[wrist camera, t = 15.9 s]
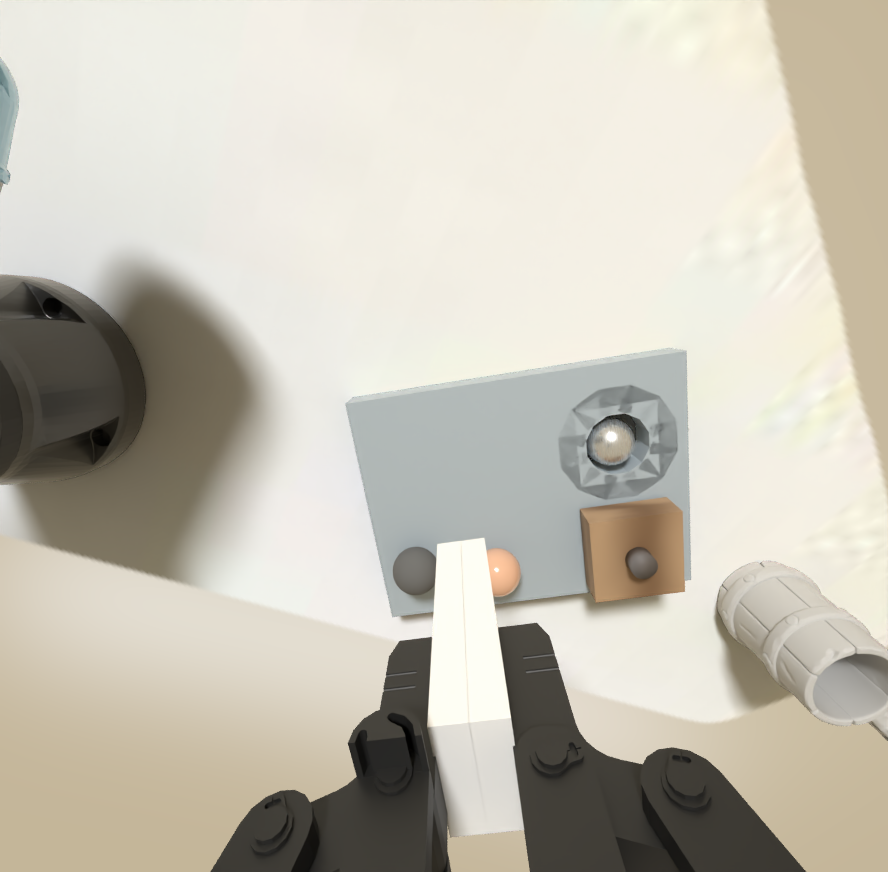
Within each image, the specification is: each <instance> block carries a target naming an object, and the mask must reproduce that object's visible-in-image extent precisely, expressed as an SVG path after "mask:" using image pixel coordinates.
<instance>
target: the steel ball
mask: <svg viewBox="0 0 888 872" xmlns="http://www.w3.org/2000/svg"><path fill="white" fill-rule="evenodd" d="M586 446H587V452H588V454H589V455H590V456H591V458H592V459H594V460H595V461H596V462H598V463H600V464H603V465H617V464H620V463H622V462H624V461H625V460H627V459H628V458H629V457H630V456H631V454H632V452H633V450H634V447H635V437H634V434H633V431H632V430H631V428H630V427H629V426H628V425H627V424H626V423H624V422H623V421H621V420H618V419H613V418H607V419H603V420H601V421H600V422H598V423H597V424H596V425H594V426H593V428H592V430H591V432H590V434H589V436H588V438H587V440H586Z"/></svg>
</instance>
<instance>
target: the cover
mask: <svg viewBox="0 0 888 872" xmlns="http://www.w3.org/2000/svg"><path fill="white" fill-rule="evenodd" d="M580 518H581V529H582V540H583V551H584V563H585V574H586V583H587V585H588V588H589V590H590V592H591V594H592V596H593V598H594V600H595V602H596V603H597V602H605V601H613V600H621V599H629V598H637V597H645V596H653V595H661V594H669V593H678V592H685V579H684V539H683V511H682V510H681V509H680V508H679V507H677V506H676V505H675V504H674V503H673V502H672V501H671V500H669V499H668V498H667V497H662V498H655V499H648V500H640V501H633V502H626V503H618V504H611V505H604V506H596V507H589V508H582V509H580Z"/></svg>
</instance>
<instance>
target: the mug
mask: <svg viewBox="0 0 888 872" xmlns="http://www.w3.org/2000/svg"><path fill="white" fill-rule="evenodd" d="M722 585H723V586H721V587H720V592H719V596H718V601H717V608H718V612H719V614H720V616H721V618H722V620H723V623H724V625H725V626H726V628H727V630H728V631H729V633H730V634H731V635H732V636H733V638H734V639H735V640H737V641H738V642H739V643H740V644H742V645H744V646H745V647H747V648H748V649H750V650H752V651H753V653H754V654H755V655H756V656H757V657H758V658H759V659H760V660H761V661H762V662H763V663H764V664H765V667H766V669H767V670H768V672H769V674H770V675H771V676H772V677H773V678H774V680H775V681H776V682H777V683H778V684H779V685H780V686H781V687H783V688H784V689H786V690H787V691H789V692H791V693H792V694H793V695H794V696H795V697H796V698H797V699H798V700H799V701H800V702H801V703H802V704H803V705H804V706H805V707H806V708H807V709H808V710H809V711H810V713H811V714H813V715H814V716H815V717H817V718H818V719H819V720H821V721H823V722H826V723H829V724H832V725H836V726H851V724H855V725H860V724H865V723H869V724H870V725H871V726H873V727H874V728H875V729H876V730H877V731H878V732H879V733H880V734H881V735H882V736H883V737H884V738H885V739H886V740H887V741H888V650H887V649H886V648H885V647H884V646H883V645H882V644H880V643H879V642H878V641H877V640H876V639H874V638H873V637H872V636H871V634H870V632H869V631H868V629H867V628H866V627H865V626H864V625H863V623H861V622H860V621H859V620H857V619H856V618H855V617H854V616H852V615H851V614H849V613H848V612H847V611H846V610H844V609H842V608H837V607H836V606H835V605H834V604H833V603H832V602H830V601H829V600H828V599H827V598H826V597H824V596H823V595H822V594H821V592H820V590H819V588H818V586H817V585H816V584H815V583H814V582H813V581H812V580H811V579H810V578H809V577H807V576H806V575H805V574H803V573H802V572H800V571H798V570H796V569H793V568H790V567H787V566H785V565H783V564H781V563H778V562H773V561H762V563H761V564H759V563H758V562H753V563H749V564H747V565H745V566H743V567H741V568H739V569H737V570H736V571H734V572H733V573H732V574H731V575H730V576H729V577H728V578H727V579H726V580H725V581H724V583H723V584H722Z"/></svg>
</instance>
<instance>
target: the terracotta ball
mask: <svg viewBox="0 0 888 872" xmlns="http://www.w3.org/2000/svg"><path fill="white" fill-rule="evenodd" d="M486 552H487V559H488V566H489V572H490V579H491V586H492V593H493V596H495V597H501V596H505V595H508V594H510V593H511V592H513V591H514V590H515V588H516V587H517V586H518V584H519V581H520V578H521V569H520V565H519V562H518V560H517V559H516V557H515V556H514V555H513V554H512V553H510V552H509V551H507V550H505V549H502V548H492V549H488V550H486Z"/></svg>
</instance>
